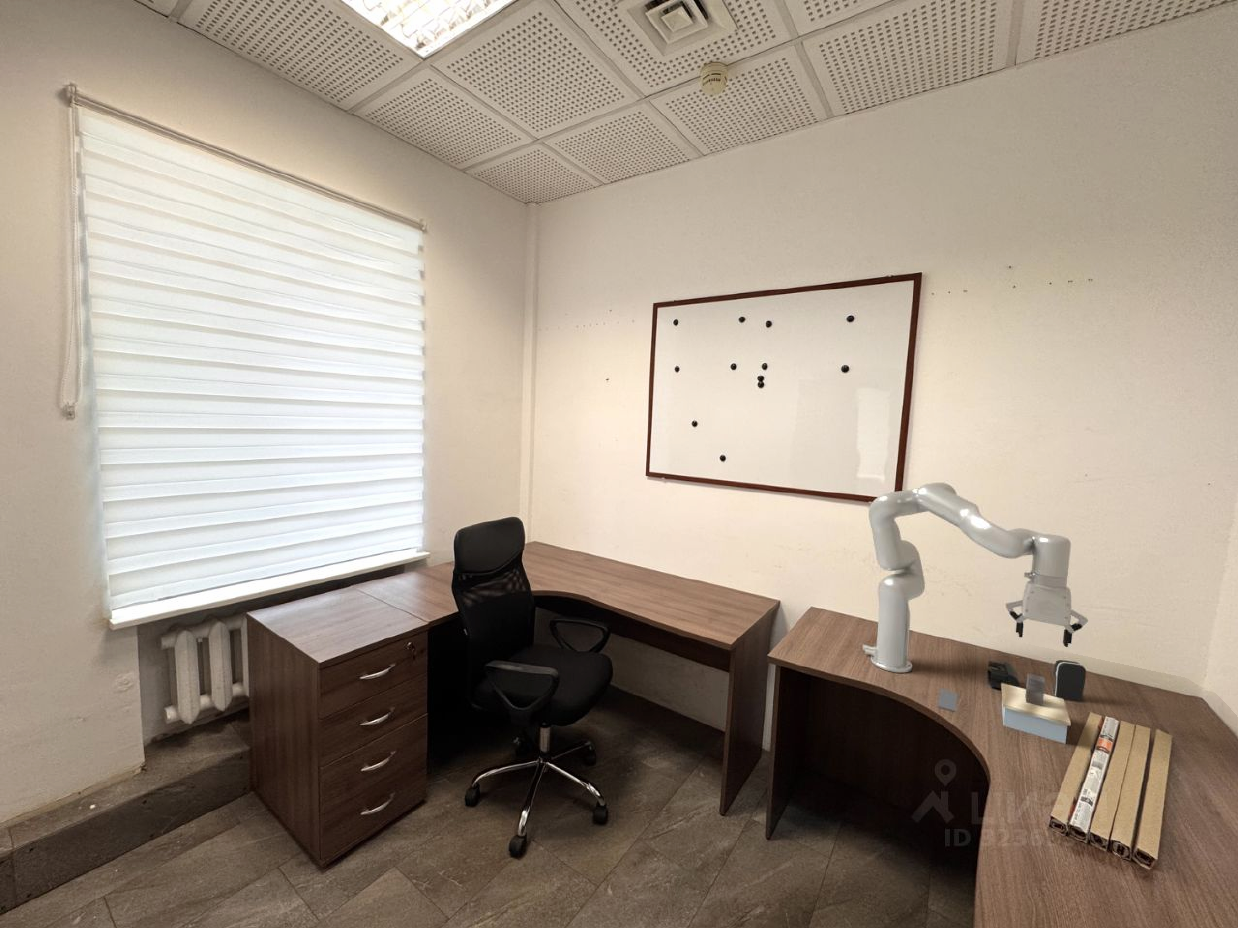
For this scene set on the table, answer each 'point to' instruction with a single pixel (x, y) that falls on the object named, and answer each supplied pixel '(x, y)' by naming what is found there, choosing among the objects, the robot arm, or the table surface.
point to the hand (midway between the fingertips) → (1042, 640)
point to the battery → (1069, 680)
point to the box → (1034, 725)
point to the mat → (947, 700)
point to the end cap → (1002, 675)
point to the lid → (1035, 700)
